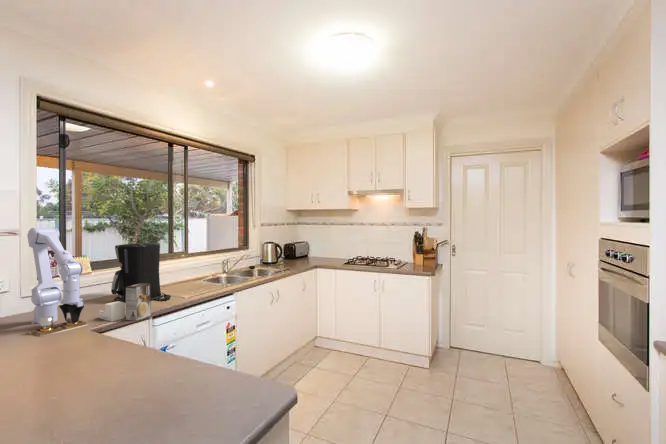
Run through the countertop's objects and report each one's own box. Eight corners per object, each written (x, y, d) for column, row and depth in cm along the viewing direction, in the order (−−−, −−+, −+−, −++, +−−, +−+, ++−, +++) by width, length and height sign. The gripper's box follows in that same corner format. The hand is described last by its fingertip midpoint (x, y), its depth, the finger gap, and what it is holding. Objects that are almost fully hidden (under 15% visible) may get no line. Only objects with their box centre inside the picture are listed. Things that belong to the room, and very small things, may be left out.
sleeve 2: (64, 326, 147) (64, 312, 146) (74, 323, 150) (74, 310, 150) (69, 327, 145) (69, 313, 145) (80, 324, 149) (80, 311, 149)
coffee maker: (124, 295, 211) (123, 242, 211) (178, 293, 216) (178, 241, 216) (105, 304, 189) (105, 244, 189) (166, 301, 194) (166, 243, 194)
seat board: (28, 335, 138) (28, 329, 138) (75, 323, 153) (75, 318, 153) (41, 339, 133) (41, 333, 133) (88, 327, 148) (88, 322, 148)
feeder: (98, 319, 160) (97, 302, 160) (111, 316, 165) (111, 299, 165) (111, 322, 155) (111, 305, 155) (124, 319, 160) (124, 302, 160)
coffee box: (140, 315, 167) (139, 282, 167) (151, 315, 166) (151, 283, 166) (125, 320, 158) (125, 286, 158) (137, 321, 157) (136, 287, 157)
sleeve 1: (38, 332, 138) (38, 318, 138) (50, 329, 142) (50, 315, 142) (43, 334, 137) (43, 319, 137) (55, 331, 140) (55, 316, 140)
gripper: (90, 290, 147) (91, 320, 148) (73, 287, 154) (73, 316, 154) (72, 293, 141) (72, 325, 141) (54, 290, 148) (55, 320, 148)
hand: (71, 321), depth 147 cm, fingers open, 5 cm apart
